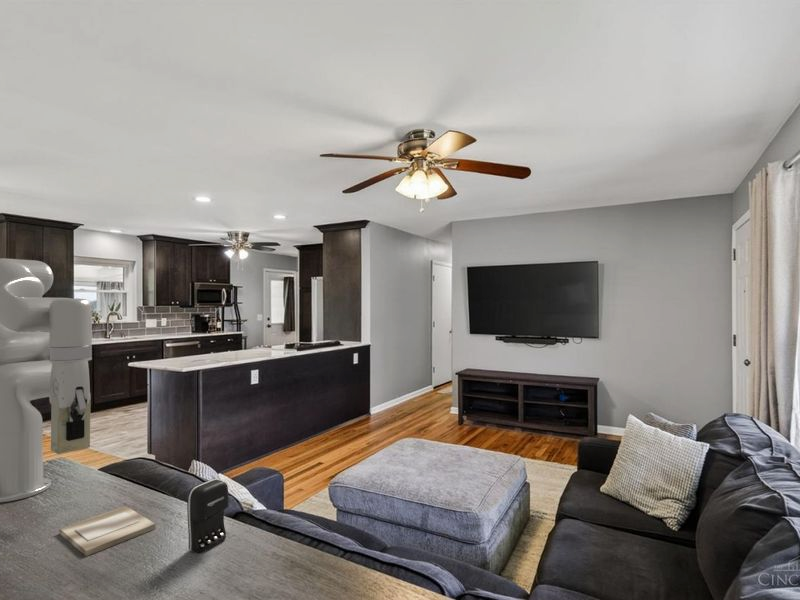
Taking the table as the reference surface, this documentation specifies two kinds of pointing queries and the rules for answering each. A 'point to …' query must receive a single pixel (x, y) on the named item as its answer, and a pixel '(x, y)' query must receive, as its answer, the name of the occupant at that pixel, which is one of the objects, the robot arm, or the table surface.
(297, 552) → the table surface
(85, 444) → the skincare box
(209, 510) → the battery charger
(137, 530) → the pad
